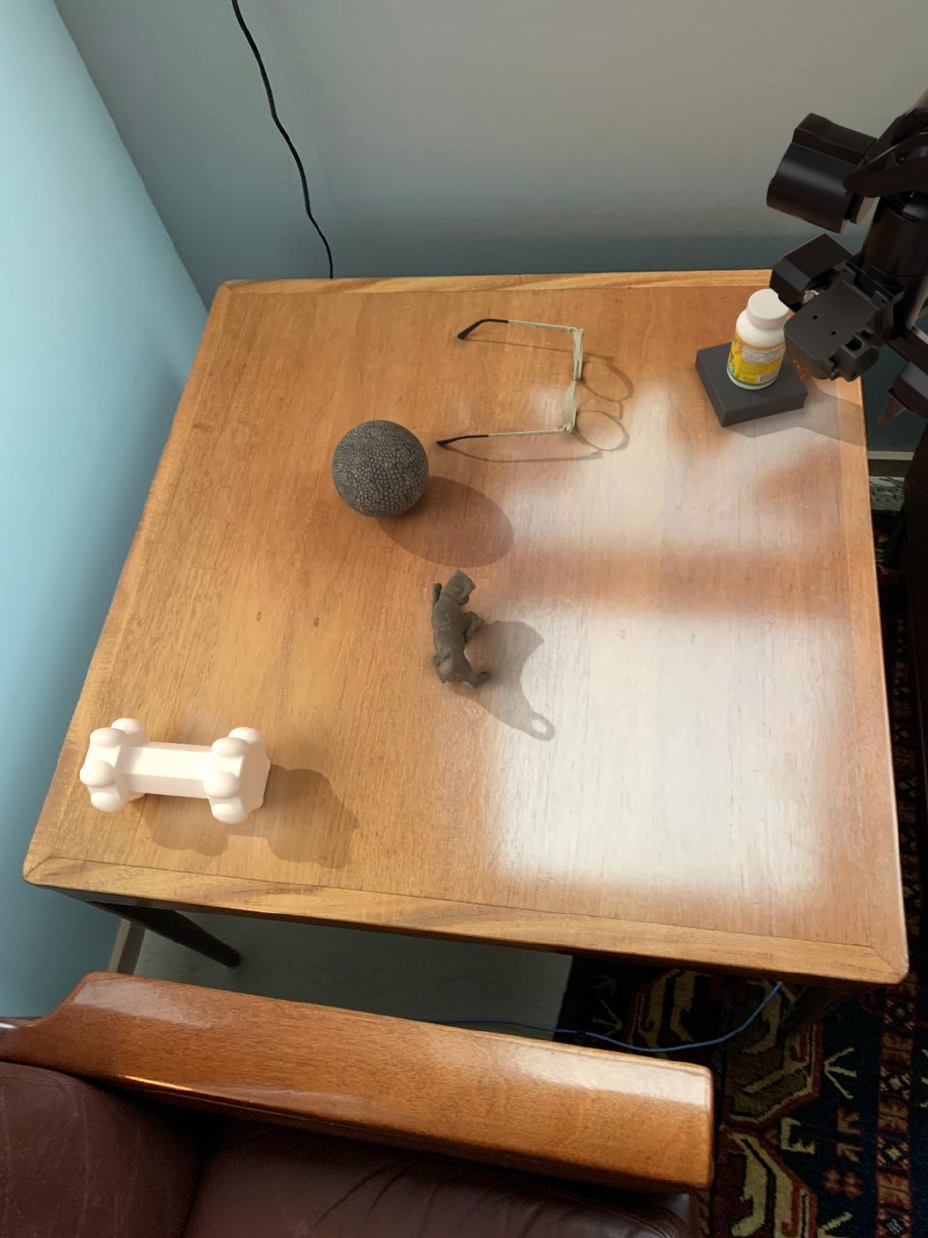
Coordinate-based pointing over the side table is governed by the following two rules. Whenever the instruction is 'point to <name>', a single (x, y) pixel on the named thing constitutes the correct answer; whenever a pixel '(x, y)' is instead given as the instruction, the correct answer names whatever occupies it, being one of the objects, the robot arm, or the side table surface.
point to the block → (747, 403)
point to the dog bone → (176, 769)
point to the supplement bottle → (758, 341)
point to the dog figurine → (454, 630)
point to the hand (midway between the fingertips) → (845, 390)
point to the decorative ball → (380, 469)
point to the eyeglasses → (571, 394)
